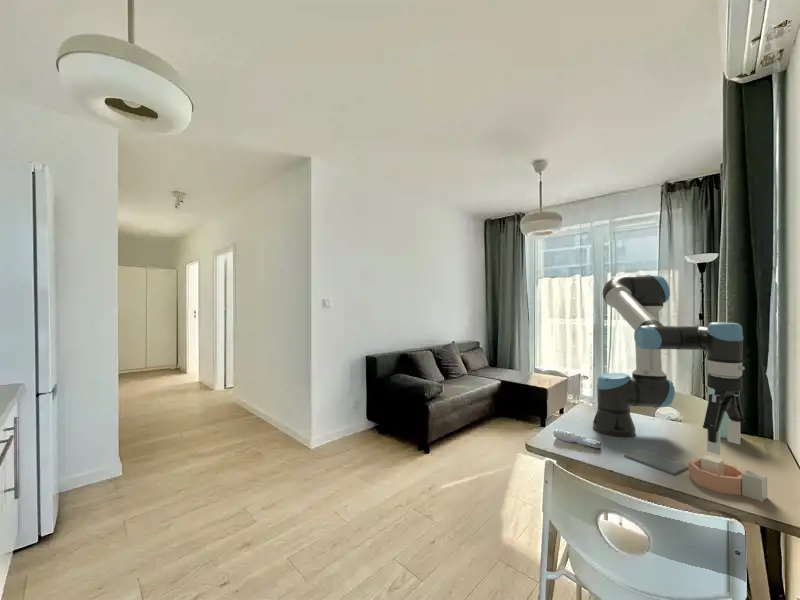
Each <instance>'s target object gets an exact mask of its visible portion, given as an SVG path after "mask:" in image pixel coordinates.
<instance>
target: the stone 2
mask: <svg viewBox="0 0 800 600" xmlns="http://www.w3.org/2000/svg"><path fill="white" fill-rule="evenodd" d="M743 472H744V473H742V494H741V496H744V497H747V498H750V499H753V500H755V499H756V501H758V502H761V503H762V502H764V501H765V500H766V499H768V476H767V475H764V474H761V473H757V472H755V471H751V470H746V471H743ZM763 500H764V501H763Z"/></svg>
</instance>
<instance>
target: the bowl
mask: <svg viewBox="0 0 800 600" xmlns="http://www.w3.org/2000/svg"><path fill="white" fill-rule="evenodd" d="M744 472H745V471H743V470H742V469H740V468H739V467H738V466H736V465H732V464H729V463H727V462H724V476H722V475H716V474H713V473H710V472H708V471H705V470H702V469H701V458H694V459H692V460H690V461H688V477H689V478H690V480H692V481H693V482H694V483H695V484H696V485H697V486H699V487H700V486H701V487H704V488H706V489H708V490H711V491H713V492H716V493H719V494H728V495H730V494H731V495H738V496H742V473H744Z"/></svg>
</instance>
